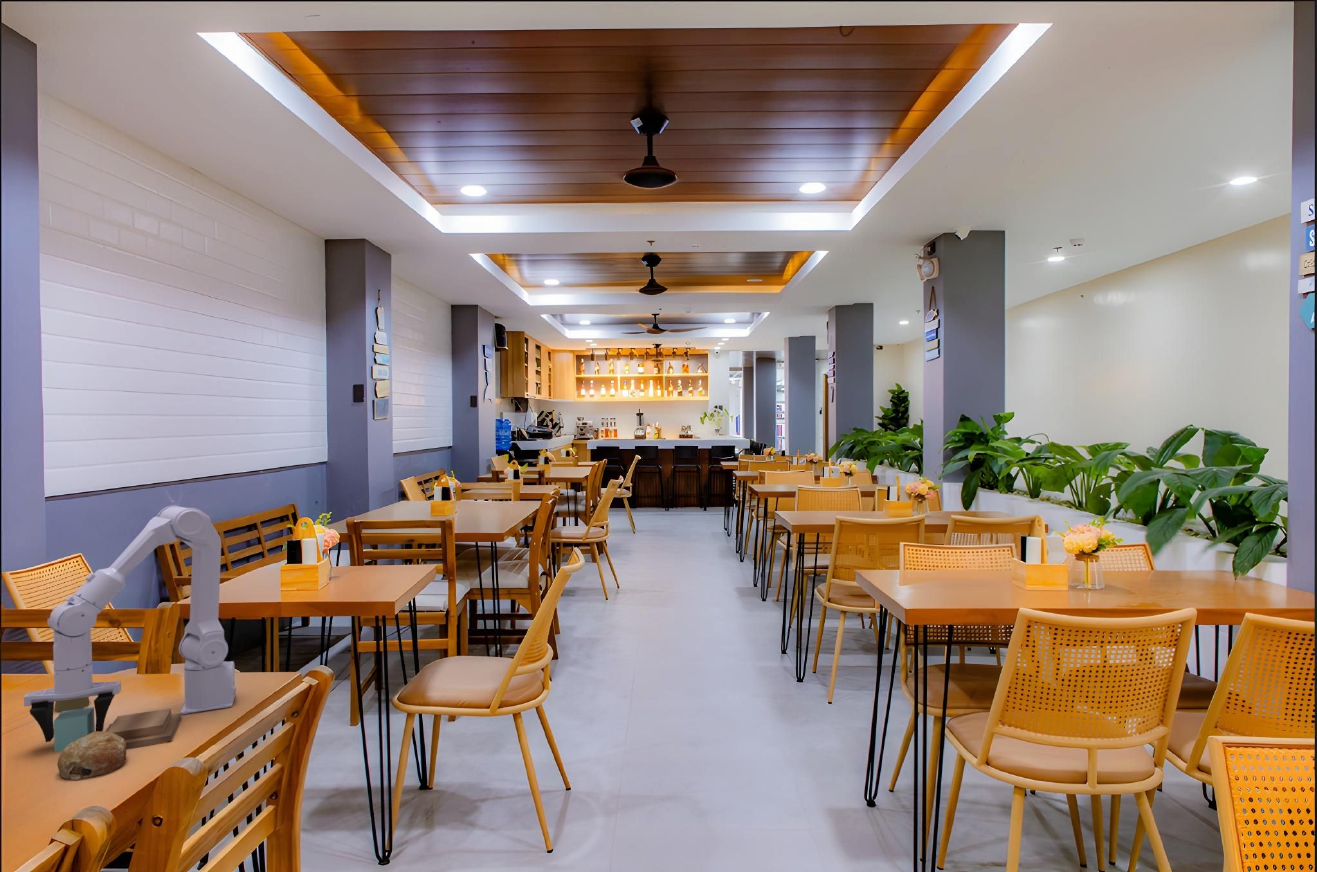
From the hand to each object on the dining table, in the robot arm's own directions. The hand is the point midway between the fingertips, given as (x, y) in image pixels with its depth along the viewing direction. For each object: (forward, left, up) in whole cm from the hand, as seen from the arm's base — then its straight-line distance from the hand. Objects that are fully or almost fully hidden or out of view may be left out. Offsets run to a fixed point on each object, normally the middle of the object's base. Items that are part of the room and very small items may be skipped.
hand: (75, 735), depth 139 cm
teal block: (0, 0, -2) cm, 2 cm away
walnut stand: (-10, +1, -2) cm, 11 cm away
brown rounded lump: (-6, +13, -2) cm, 14 cm away
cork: (+6, -23, -2) cm, 24 cm away
